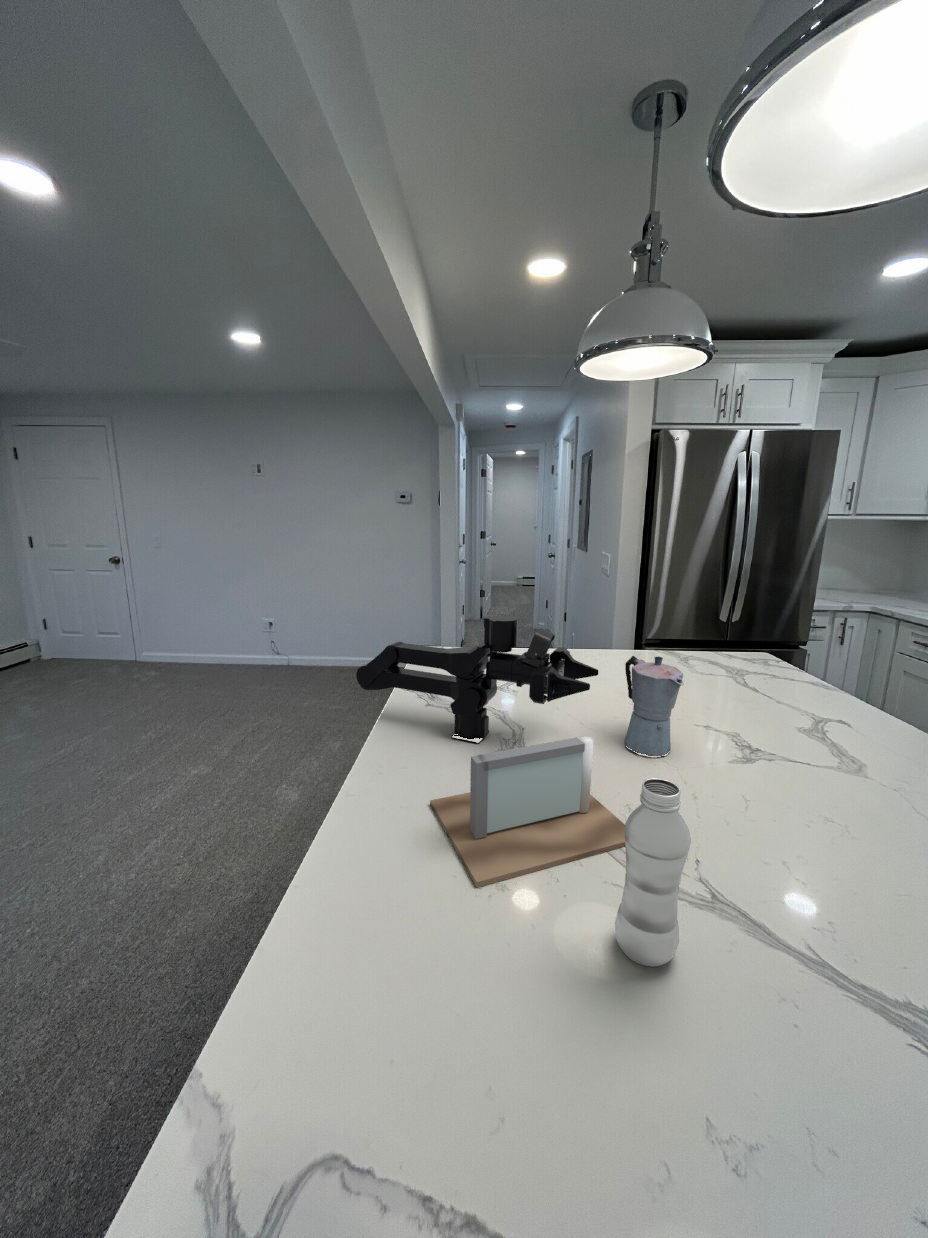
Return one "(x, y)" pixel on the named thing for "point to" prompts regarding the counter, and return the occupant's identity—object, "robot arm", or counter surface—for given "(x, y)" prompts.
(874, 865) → the counter surface
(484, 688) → the robot arm
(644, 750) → the moka pot
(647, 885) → the plastic bottle
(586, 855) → the walnut board
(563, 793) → the light blue panel
